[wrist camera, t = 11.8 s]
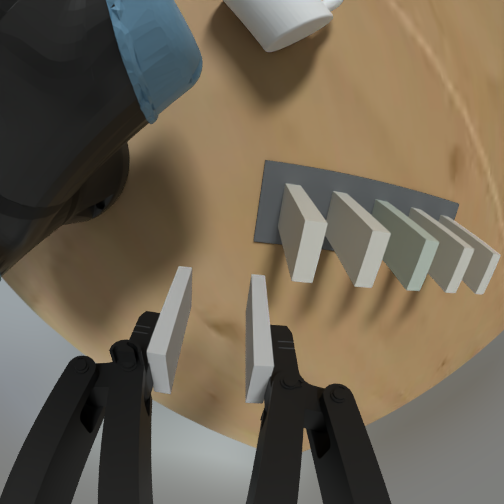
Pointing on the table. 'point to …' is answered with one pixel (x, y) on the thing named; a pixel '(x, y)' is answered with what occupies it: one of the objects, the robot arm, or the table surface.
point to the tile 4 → (445, 252)
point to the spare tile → (405, 246)
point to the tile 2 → (356, 239)
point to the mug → (282, 19)
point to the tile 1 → (301, 233)
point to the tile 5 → (474, 257)
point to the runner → (320, 192)
